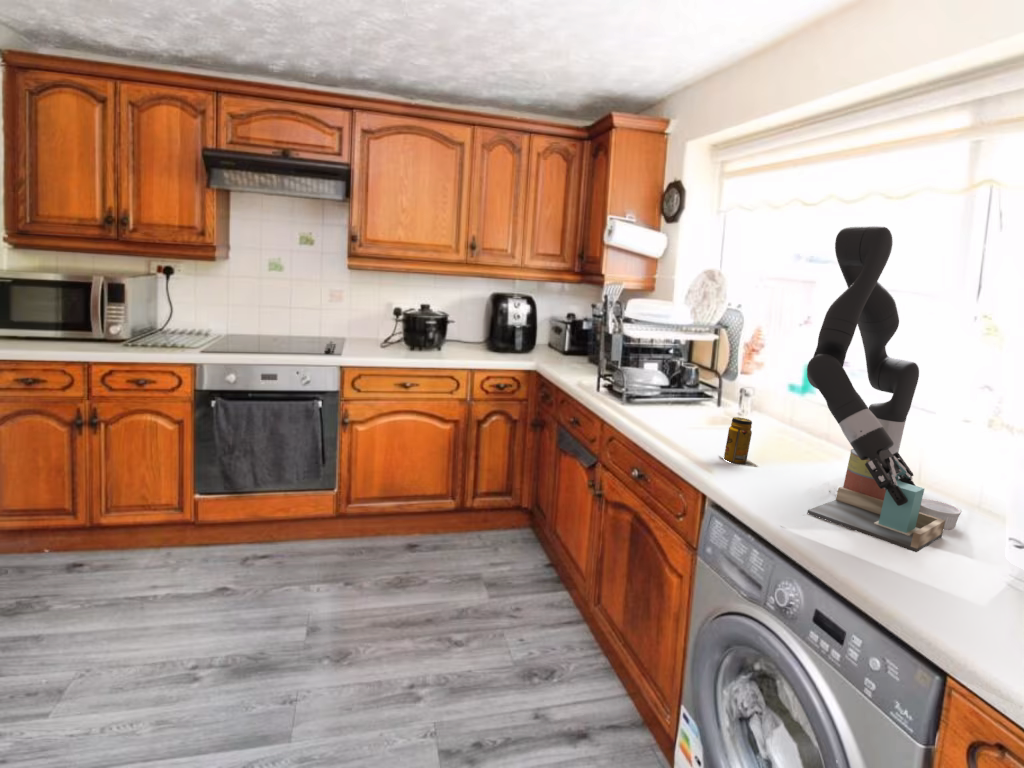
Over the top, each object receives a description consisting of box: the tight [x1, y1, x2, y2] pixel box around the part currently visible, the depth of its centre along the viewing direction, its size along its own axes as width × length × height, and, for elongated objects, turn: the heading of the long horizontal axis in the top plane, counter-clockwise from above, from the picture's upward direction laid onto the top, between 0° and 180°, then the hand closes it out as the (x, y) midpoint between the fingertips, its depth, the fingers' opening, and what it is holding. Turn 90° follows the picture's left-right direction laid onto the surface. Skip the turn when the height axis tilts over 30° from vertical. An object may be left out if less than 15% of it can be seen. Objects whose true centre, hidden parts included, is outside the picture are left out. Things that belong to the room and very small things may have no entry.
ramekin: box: [919, 498, 962, 531], centre depth 151 cm, size 9×9×4 cm
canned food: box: [842, 448, 886, 501], centre depth 159 cm, size 11×11×12 cm
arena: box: [806, 486, 946, 553], centre depth 145 cm, size 16×22×4 cm
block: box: [878, 480, 925, 533], centre depth 143 cm, size 6×6×9 cm
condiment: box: [723, 416, 759, 467], centre depth 184 cm, size 7×8×12 cm
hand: (910, 501), depth 142 cm, fingers open, 8 cm apart
